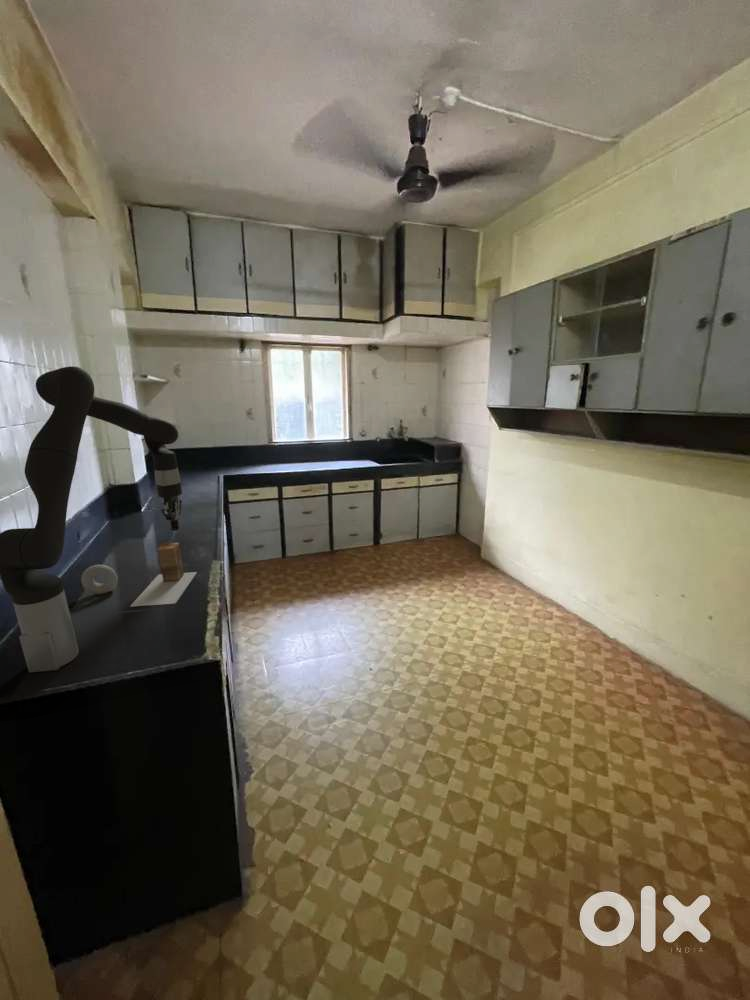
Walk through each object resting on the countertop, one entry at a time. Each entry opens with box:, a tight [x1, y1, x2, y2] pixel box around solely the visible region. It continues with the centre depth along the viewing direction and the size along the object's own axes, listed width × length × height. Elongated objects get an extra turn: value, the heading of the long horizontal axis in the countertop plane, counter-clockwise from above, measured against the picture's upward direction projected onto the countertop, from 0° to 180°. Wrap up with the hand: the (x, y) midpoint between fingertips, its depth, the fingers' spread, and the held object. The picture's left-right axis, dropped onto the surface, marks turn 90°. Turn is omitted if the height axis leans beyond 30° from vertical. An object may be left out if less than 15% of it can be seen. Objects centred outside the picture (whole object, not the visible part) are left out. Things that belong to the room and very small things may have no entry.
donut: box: [80, 564, 119, 595], centre depth 128 cm, size 10×3×10 cm, turn 105°
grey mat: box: [129, 571, 198, 608], centre depth 132 cm, size 22×13×1 cm, turn 7°
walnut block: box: [157, 542, 185, 582], centre depth 137 cm, size 5×5×12 cm
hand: (175, 529), depth 142 cm, fingers closed
